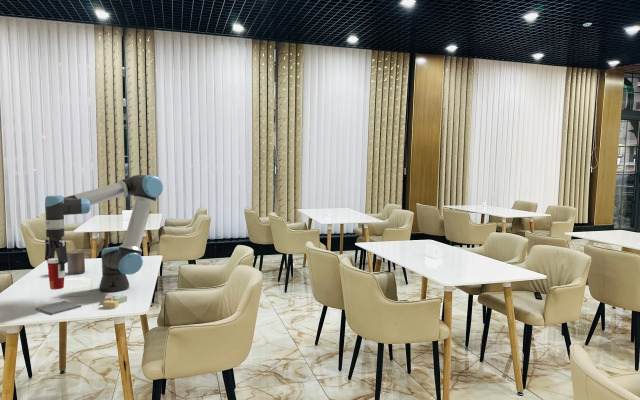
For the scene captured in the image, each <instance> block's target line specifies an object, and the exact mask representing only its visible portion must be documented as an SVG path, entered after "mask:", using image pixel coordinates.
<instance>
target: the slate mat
mask: <svg viewBox="0 0 640 400" xmlns="http://www.w3.org/2000/svg"><path fill="white" fill-rule="evenodd" d="M81 307H82V305H81V304H77V303H74V302H70V301H67V300H62V301H61V300H60V301H58V302H53V303H50V304H49V303H48V304H45V305H41V306H39V307H35V309H34V310H36V311H38V312H43V313H45V314H48V315H51V316H52V315H56V314H60V313H63V312H64V313H65V312H66V311H67V312H68V311H70V310H74V309H78V308H81Z"/></svg>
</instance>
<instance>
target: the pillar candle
mask: <svg viewBox="0 0 640 400" xmlns="http://www.w3.org/2000/svg"><path fill="white" fill-rule="evenodd" d="M67 259H68V262H67V263H66V264H67V274H68V275H69V274H77V275H82V274H85V273H86V267H85V266H86V265H85V250H81V249H79V250H77V249H75V250H70V251H67ZM84 272H85V273H84Z"/></svg>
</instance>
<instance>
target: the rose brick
mask: <svg viewBox="0 0 640 400" xmlns="http://www.w3.org/2000/svg"><path fill="white" fill-rule="evenodd" d="M113 298H114V297H113V294H105V297H104V301H106V300H108V301H113Z"/></svg>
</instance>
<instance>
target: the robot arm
mask: <svg viewBox="0 0 640 400" xmlns="http://www.w3.org/2000/svg"><path fill="white" fill-rule="evenodd" d="M163 190H164V185H163V182H162V180H161V179H160V178H159V177H158V176H155V175H152V174H136V175H132V176H129V177H126V178H123V179H119V180H118V181H117V182H116V183H112V184H109V185H105V186H102V187H98V188H94V189H90V190H86V191H81V192H79V193H75V194H73V195H68V196H63V195H58V194H57V195H55V194H54V195H46V196H45V199H44V209H45V210H44V211H45V212H44V213H45V223H44V224H45V227H46V229H45V237H46V238H48V239H45V240H44V242H45V249H44V251H45V253H44V260H45V261H46V262H47V261H48V259H51V258H55V255H56V256H57V257H56V258H58V261H59V263H58V278H63V277H64V278H65V277H66V267H65V264H68V263H67V262H68V259H67V252H68V250H67V241H65V240H64V241H63V238H62V237H64V236H65V216H69V215H83V214H89V212H90V211H91V206H92V205H96V204H100V203H103V202H106V201H109V200H112V199H116V198H120V197H122V198H128V197H130V196H133V198H134V200H135V201H134V205H133V208H132V211H131V215H130V218H129V221H128V226H127V229H126V233H125V237H124V239H123V243H122V244H120V245H119V246H113V247H106V248H105V247H104V248H103V249H102V250H101V270H102V271H101V273H102V276H101V279H100V283H99V286H98V290H99V291H100V292H103V293H115V292H121V291H125V290H128V289H130V282H129V279H128V277H127V275H131V276H132V275H134V274H136V273H137V272H139V271H140V270H141V268H142V267H143V263H144V260H143V257H142V253H143V250H142V248H141V245H142V241H143V237H144V235H145V229H146V226H147V223H148V218H149V216H150V215H149V214H150V212H151V208H152V205H153V204H155V203H156V201H157V198H158V197H160V196H161V195H162V193H163ZM48 276H49V272H48Z"/></svg>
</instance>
